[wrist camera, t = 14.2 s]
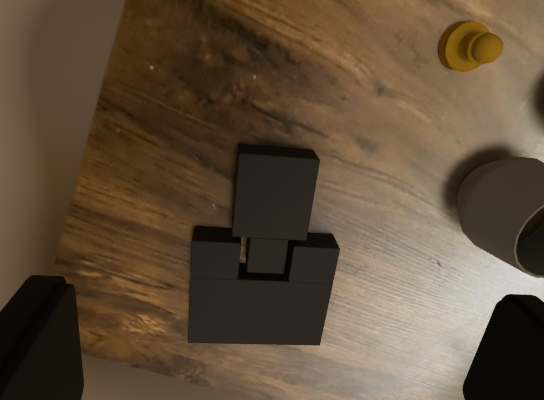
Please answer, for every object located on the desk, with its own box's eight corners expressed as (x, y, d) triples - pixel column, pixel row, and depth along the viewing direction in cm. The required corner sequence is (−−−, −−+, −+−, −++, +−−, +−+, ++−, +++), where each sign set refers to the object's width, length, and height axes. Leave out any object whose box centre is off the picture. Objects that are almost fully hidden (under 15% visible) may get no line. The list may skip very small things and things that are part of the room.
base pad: (190, 323, 43) (187, 342, 41) (194, 225, 39) (191, 241, 36) (314, 326, 45) (319, 345, 42) (332, 234, 41) (340, 248, 38)
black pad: (229, 255, 40) (228, 271, 38) (238, 143, 36) (239, 152, 33) (296, 258, 41) (300, 274, 39) (313, 150, 37) (320, 159, 34)
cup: (430, 170, 39) (492, 214, 30) (522, 129, 38) (614, 161, 29) (452, 245, 43) (513, 304, 33) (536, 209, 42) (621, 260, 33)
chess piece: (481, 64, 35) (519, 70, 31) (438, 74, 35) (469, 81, 31) (482, 17, 33) (522, 15, 29) (437, 27, 33) (469, 27, 29)
